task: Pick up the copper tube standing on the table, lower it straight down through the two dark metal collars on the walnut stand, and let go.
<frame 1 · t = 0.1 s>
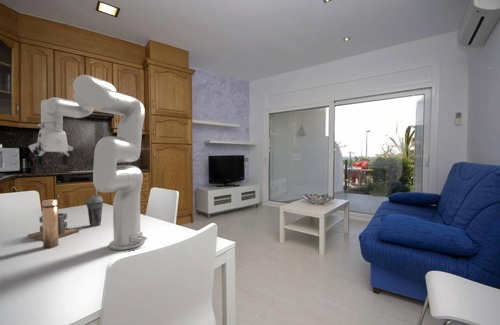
hand: (53, 164, 106), 31 cm above the table, tool pointing down, fingers open, 9 cm apart
beverage cup: (95, 225, 116), on the table
copper tube: (51, 246, 89), on the table
collar stand: (54, 234, 102), on the table
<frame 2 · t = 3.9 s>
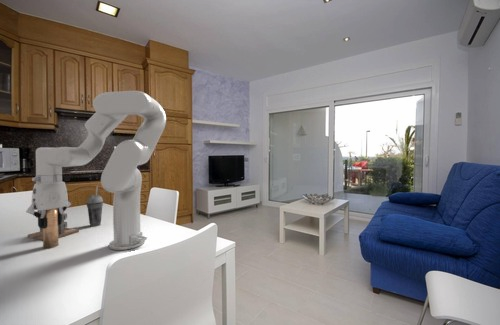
hand: (50, 225, 89), 8 cm above the table, tool pointing down, fingers closed on copper tube, 4 cm apart
copper tube: (51, 246, 89), on the table, touching gripper
everything else where it was.
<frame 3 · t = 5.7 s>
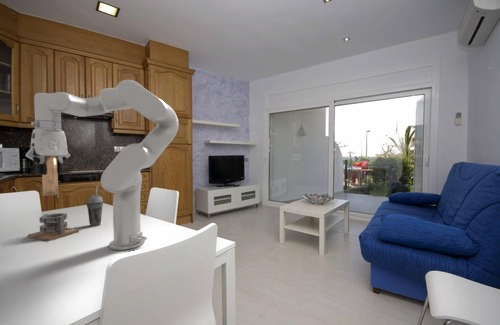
hand: (50, 173, 88), 28 cm above the table, tool pointing down, fingers closed on copper tube, 4 cm apart
copper tube: (50, 194, 88), point 20 cm above the table, touching gripper
everything else where it was.
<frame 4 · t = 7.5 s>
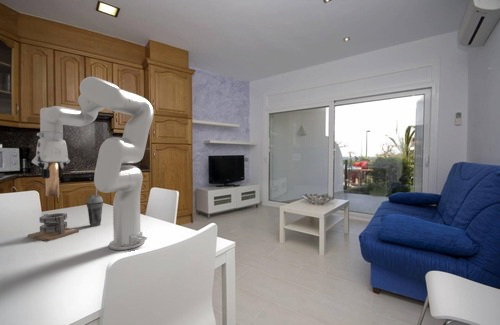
hand: (52, 177, 101), 26 cm above the table, tool pointing down, fingers closed on copper tube, 4 cm apart
copper tube: (52, 195, 102), point 18 cm above the table, touching gripper
everything else where it was.
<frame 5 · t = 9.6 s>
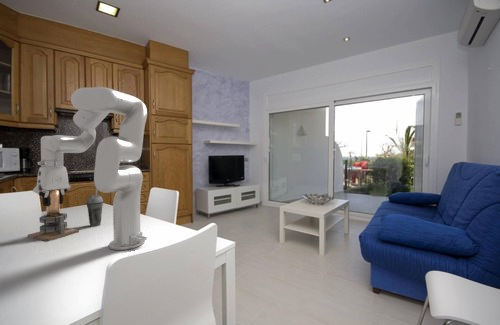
hand: (53, 204, 102), 14 cm above the table, tool pointing down, fingers closed on copper tube, 4 cm apart
copper tube: (53, 222, 102), point 5 cm above the table, touching gripper
everything else where it was.
when the fingers open (10 cm above the table, at t = 11.5 s): copper tube stays where it is, resting on collar stand.
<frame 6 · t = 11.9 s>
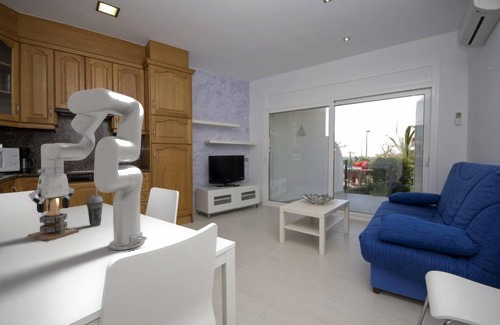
hand: (53, 210, 102), 11 cm above the table, tool pointing down, fingers open, 9 cm apart
copper tube: (54, 232, 102), point 1 cm above the table, touching collar stand
everything else where it was.
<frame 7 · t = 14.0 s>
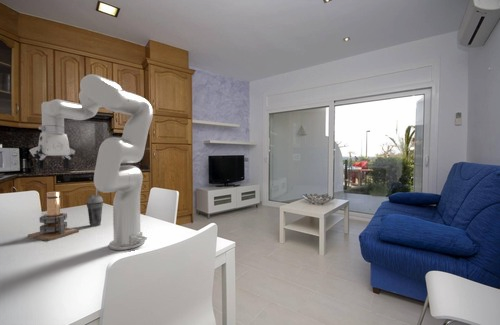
hand: (54, 168, 102), 29 cm above the table, tool pointing down, fingers open, 9 cm apart
nothing on the table moved.
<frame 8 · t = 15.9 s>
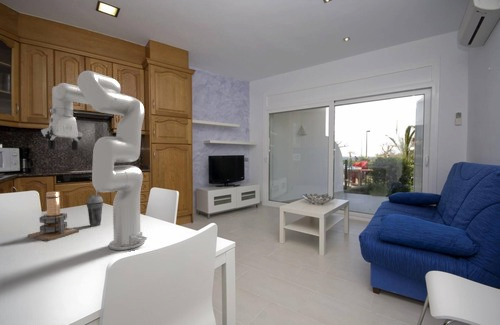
hand: (63, 149, 109), 38 cm above the table, tool pointing down, fingers open, 9 cm apart
nothing on the table moved.
at the end: copper tube 0.0 cm off-centre on the collar stand, point 1.0 cm above the collar stand's base; copper tube tilted 0°; the gripper is holding nothing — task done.
